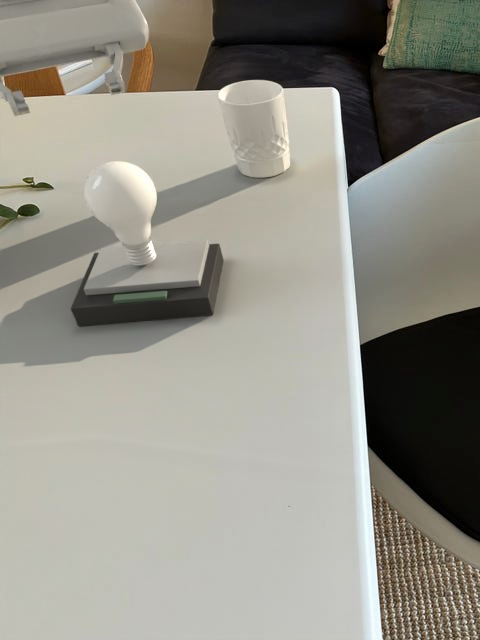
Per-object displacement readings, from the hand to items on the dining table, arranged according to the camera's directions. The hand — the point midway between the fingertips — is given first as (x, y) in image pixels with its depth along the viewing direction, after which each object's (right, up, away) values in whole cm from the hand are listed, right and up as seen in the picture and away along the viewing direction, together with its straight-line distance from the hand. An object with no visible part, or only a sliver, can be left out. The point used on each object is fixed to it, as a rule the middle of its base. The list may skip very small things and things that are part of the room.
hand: (71, 101), depth 80 cm
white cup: (+13, -1, +23) cm, 27 cm away
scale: (+8, -19, +2) cm, 21 cm away
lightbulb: (+7, -17, 0) cm, 18 cm away
